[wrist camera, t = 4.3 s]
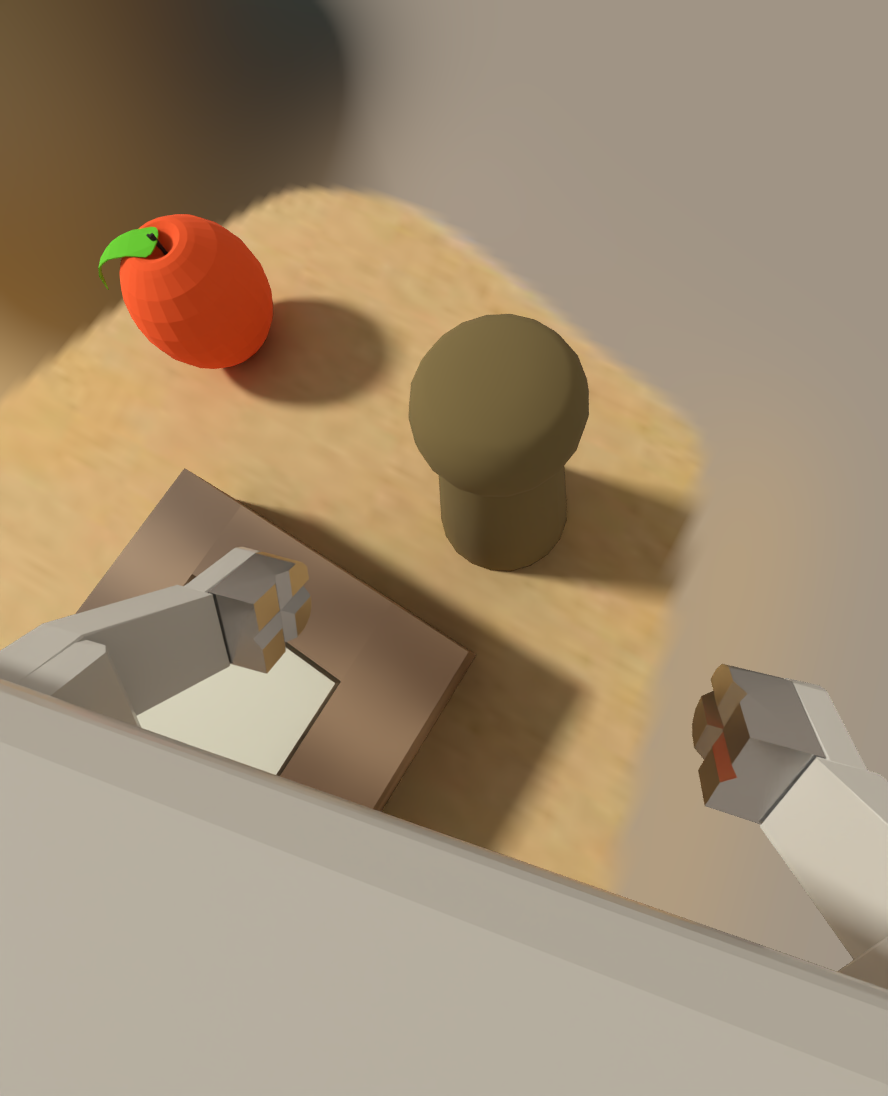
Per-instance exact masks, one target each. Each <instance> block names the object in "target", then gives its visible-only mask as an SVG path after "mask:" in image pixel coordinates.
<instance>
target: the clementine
mask: <svg viewBox="0 0 888 1096" xmlns="http://www.w3.org/2000/svg"><path fill="white" fill-rule="evenodd" d="M116 258H122V260H121V264H120V282H121V290H122V294H123V299H124V302H125V304H126V306H127V308H128V311H129V313H130V315H131V317H132V319H133V320H134V322H135V323H136V325H137V326H138V328H139V329H140V330H141V332H142V333H143V334H144V335H145V336H146V337H147V339H148V340H149V341H150V342H151V343H153V344H154V345H155V346H156V347H158V348H159V349H160V350H162V351H163V352H165V353H166V354H168V355H169V356H171V357H172V358H174V359H175V360H178V361H181V362H184V363H187V364H190V365H193V366H196V367H199V368H209V369H217V368H225V367H230V366H235V365H237V364H239V363H242V362H244V361H246V360H247V359H248V358H250V357H251V356H253V355H254V354H255V353H256V352H257V351H258V350H259V348H260V347H261V346H262V345H263V343H264V341H265V339H266V338H267V336H268V332H269V329H270V325H271V322H272V318H273V301H272V293H271V288H270V285H269V283H268V280H267V277H266V275H265V273H264V270H263V268H262V266H261V264H260V262H259V261H258V260H257V259H256V257H255V256H254V255H253V254H252V252H251V251H250V250H249V249H248V248H247V246H246V245H245V244H244V243H243V242H242V240H241V239H240V238H238V237H237V236H235V235H234V234H232V233H231V232H230V231H228V230H227V229H225V228H224V227H222V226H220V225H219V224H217V223H216V222H213V221H210V220H207V219H203V218H200V217H196V216H193V215H189V214H176V215H169V216H163V217H159V218H156V219H153V220H151V221H149V222H147V223H146V224H144V225H143V226H141V227H140V228H139V229H136V230H131V231H129V232H127V233H124V234H122V235H120V236H119V237H117V238H116V239H114V240H113V241H112V242H111V243H110V244H109V246H108V247H107V248H106V249H105V251H104V253H103V255H102V257H101V259H100V263H99V268H98V269H99V277H100V279H101V280H102V282H103V283H104V285H105V286H106V287H107V284H106V282H105V279H104V277H103V275H102V272H101V271H102V265H103V264H104V263H105V262H107V261H108V260H111V259H116ZM107 289H108V287H107Z"/></svg>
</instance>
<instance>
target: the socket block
mask: <svg viewBox="0 0 888 1096" xmlns="http://www.w3.org/2000/svg"><path fill="white" fill-rule="evenodd" d="M237 547H246V548H249V549H253V550H257V551H260V552H266V553H270V554H273V555H277V556H281V557H285V558H288V559H292V560H296V561H300V562H302V563H304V564H305V565H306V566H307V569H308V576H309V580H308V581H307V582H306V583H305V584H304V587H305V589H306V590H307V591H308V593H309V594H310V595H311V604H312V606H311V613H310V617H309V619H308V622H307V624H306V627H305V628H304V630H303V631H302V632H301V634H300V635H299V636H298V637H297V638H294V639H292V640H290V641H287V643H289V644H290V645H291V646H293V647H294V648H296V649H297V650H298V651H300V652H301V653H303V654H304V655H305V656H307V657H308V658H309V659H311V660H312V661H314V662H315V663H316V664H318V665H319V666H321V667H322V668H323V669H325V670H326V671H327V672H329V673H330V674H332V675H333V676H334V677H336V678H337V679H339V680H340V681H341V682H340V684H339V685H338V687H337V688H336V690H335V691H334V693H333V694H332V696H331V698H330V699H329V701H328V702H327V704H326V705H325V707H324V708H323V710H322V712H321V713H320V715H319V716H318V718H317V719H316V721H315V722H314V724H313V725H312V727H311V729H310V730H309V732H308V733H307V735H306V736H305V738H304V739H303V741H302V742H301V744H300V746H299V747H298V749H297V750H296V752H295V753H294V755H293V756H292V758H291V760H290V761H289V763H288V764H287V766H286V767H285V769H284V770H283V772H282V773H281V775H280V777H283V778H286V779H289V780H292V781H294V782H297V783H300V784H303V785H306V786H309V787H312V788H314V789H317V790H320V791H323V792H326V793H329V794H332V795H334V796H337V797H340V798H343V799H346V800H349V801H351V802H354V803H357V804H360V805H363V806H366V807H369V808H371V809H374V810H377V811H380V812H381V811H382V809H383V808H384V806H385V805H386V803H387V801H388V800H389V798H390V796H391V795H392V793H393V791H394V790H395V788H396V786H397V785H398V783H399V781H400V780H401V778H402V776H403V775H404V773H405V772H406V770H407V768H408V767H409V765H410V763H411V762H412V760H413V758H414V757H415V755H416V753H417V752H418V750H419V748H420V747H421V745H422V743H423V742H424V740H425V739H426V737H427V735H428V734H429V732H430V730H431V729H432V727H433V725H434V724H435V722H436V720H437V719H438V717H439V715H440V714H441V712H442V710H443V709H444V707H445V706H446V704H447V702H448V701H449V699H450V697H451V696H452V694H453V692H454V691H455V689H456V687H457V686H458V684H459V682H460V681H461V679H462V677H463V676H464V674H465V673H466V671H467V669H468V668H469V666H470V664H471V663H472V661H473V659H474V658H475V656H476V654H474V653H473V652H471V651H470V650H468V649H467V648H465V647H463V646H462V645H460V644H459V643H457V642H456V641H454V640H453V639H451V638H450V637H448V636H446V635H445V634H443V633H442V632H440V631H439V630H437V629H436V628H434V627H433V626H431V625H429V624H428V623H426V622H425V621H423V620H422V619H420V618H419V617H417V616H415V615H414V614H412V613H411V612H409V611H408V610H406V609H405V608H403V607H402V606H400V605H398V604H397V603H395V602H394V601H392V600H391V599H389V598H388V597H386V596H384V595H383V594H381V593H380V592H378V591H377V590H375V589H374V588H372V587H371V586H369V585H367V584H366V583H364V582H363V581H361V580H360V579H358V578H357V577H355V576H354V575H352V574H350V573H349V572H347V571H346V570H344V569H343V568H341V567H340V566H338V565H336V564H335V563H333V562H332V561H330V560H329V559H327V558H326V557H324V556H323V555H321V554H319V553H318V552H316V551H315V550H313V549H312V548H310V547H309V546H307V545H306V544H304V543H302V542H301V541H299V540H298V539H296V538H295V537H293V536H292V535H290V534H288V533H287V532H285V531H284V530H282V529H281V528H279V527H278V526H276V525H275V524H273V523H271V522H270V521H268V520H267V519H265V518H264V517H262V516H261V515H259V514H257V513H256V512H254V511H253V510H251V509H250V508H248V507H247V506H245V505H244V504H242V503H240V502H239V501H237V500H236V499H234V498H233V497H231V496H229V495H228V494H226V493H224V492H223V491H221V490H219V489H218V488H216V487H215V486H213V485H211V484H210V483H208V482H206V481H205V480H203V479H201V478H200V477H198V476H196V475H195V474H193V473H192V472H190V471H188V470H187V469H185V468H184V470H183V471H182V472H181V474H180V475H179V476H178V478H177V479H176V480H175V482H174V483H173V484H172V486H171V487H170V488H169V490H168V491H167V492H166V494H165V495H164V496H163V498H162V499H161V500H160V502H159V503H158V504H157V506H156V507H155V508H154V510H153V511H152V512H151V514H150V515H149V516H148V518H147V519H146V520H145V522H144V523H143V524H142V526H141V527H140V528H139V530H138V531H137V532H136V534H135V535H134V536H133V538H132V539H131V540H130V542H129V543H128V544H127V546H126V547H125V548H124V550H123V551H122V552H121V554H120V555H119V556H118V558H117V559H116V560H115V562H114V563H113V564H112V566H111V567H110V568H109V570H108V571H107V572H106V574H105V575H104V576H103V578H102V579H101V580H100V582H99V583H98V584H97V586H96V587H95V588H94V590H93V591H92V592H91V594H90V595H89V596H88V598H87V599H86V600H85V602H84V603H83V604H82V606H81V607H80V608H79V610H78V611H77V612H76V614H78V613H81V612H85V611H88V610H92V609H95V608H99V607H102V606H106V605H109V604H113V603H116V602H119V601H123V600H126V599H130V598H133V597H137V596H140V595H144V594H147V593H151V592H154V591H158V590H161V589H165V588H168V587H171V586H175V585H180V586H185V585H186V584H188V583H189V582H190V581H192V580H193V579H194V578H196V577H197V576H198V575H199V574H201V573H202V572H203V571H205V570H206V569H207V568H209V567H210V566H211V565H213V564H214V563H215V562H217V561H218V560H219V559H221V558H222V557H223V556H225V555H226V554H227V553H229V552H230V551H231V550H233V549H234V548H237Z"/></svg>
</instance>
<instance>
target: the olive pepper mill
mask: <svg viewBox="0 0 888 1096" xmlns="http://www.w3.org/2000/svg"><path fill="white" fill-rule="evenodd" d="M588 416H589V389H588V383H587V378H586V376H585V373H584V371H583V368H582V365H581V363H580V360H579V358H578V355H577V354H576V353H575V352H574V351H573V350H572V349H571V347H570V346H569V345H568V344H567V343H566V342H565V341H564V339H563V338H562V337H561V336H560V335H559V334H557V333H556V332H555V331H554V330H552V329H550V328H548V327H547V326H545V325H543V324H541V323H540V322H538V321H536V320H534V319H530V318H526V317H521V316H517V315H513V314H501V315H485V316H482V317H479V318H476V319H472V320H469V321H466V322H463V323H461V324H460V325H458V326H457V327H455V328H453V329H452V330H450V331H449V332H447V333H446V334H444V335H443V336H442V337H441V338H440V339H439V340H438V341H437V342H436V343H435V344H434V346H433V347H432V348H431V349H430V350H429V351H428V352H427V354H426V355H425V356H424V358H423V359H422V360H421V362H420V365H419V367H418V369H417V371H416V373H415V376H414V378H413V380H412V382H411V391H410V402H409V421H410V425H411V429H412V433H413V436H414V440H415V443H416V445H417V447H418V449H419V451H420V453H421V454H422V455H423V457H424V458H425V460H426V461H427V463H428V464H429V466H430V467H431V469H432V470H433V471H434V472H436V473H437V474H438V475H439V487H440V505H441V519H442V523H443V527H444V530H445V534H446V537H447V538H448V540H449V541H450V543H451V544H452V546H453V547H454V549H455V550H456V552H458V553H459V554H460V555H462V556H463V557H464V558H465V559H467V560H468V561H469V562H471V563H472V564H475V565H478V566H480V567H483V568H486V569H489V570H501V571H512V570H516V569H519V568H523V567H527V566H530V565H532V564H533V563H535V562H536V561H538V560H540V559H541V558H543V557H544V556H546V555H547V554H548V553H549V552H550V550H551V549H552V548H553V547H554V545H555V544H556V543H557V542H558V540H559V539H560V537H561V534H562V531H563V528H564V526H565V523H566V487H565V472H564V465H565V464H566V462H567V461H568V460H569V459H570V457H571V456H572V455H573V454H574V452H575V451H576V450H577V447H578V444H579V442H580V439H581V436H582V433H583V431H584V428H585V425H586V422H587V419H588Z"/></svg>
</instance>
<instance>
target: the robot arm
mask: <svg viewBox="0 0 888 1096" xmlns="http://www.w3.org/2000/svg"><path fill="white" fill-rule="evenodd" d="M308 580H309V576H308V569H307V566H306V565H305V564H304V563H302V562H300V561H296V560H292V559H288V558H285V557H281V556H277V555H273V554H270V553H266V552H260V551H257V550H253V549H249V548H246V547H237V548H234V549H233V550H231V551H230V552H229V553H227V554H226V555H225V556H223V557H222V558H221V559H219V560H218V561H217V562H215V563H214V564H213V565H211V566H210V567H209V568H207V569H206V570H205V571H203V572H202V573H201V574H199V575H198V576H197V577H196V578H194V579H193V580H192V581H190V582H189V583H188V584H186V585H185V586H180V585H175V586H171V587H168V588H165V589H161V590H158V591H154V592H151V593H147V594H144V595H140V596H137V597H133V598H130V599H126V600H123V601H119V602H116V603H113V604H109V605H106V606H102V607H99V608H95V609H92V610H88V611H85V612H81V613H78V614H74V615H71V616H67V617H64V618H61V619H57V620H54V621H50V622H47V623H43V624H41V625H40V626H38V627H37V628H35V629H34V630H32V631H30V632H29V633H27V634H26V635H24V636H23V637H21V638H19V639H18V640H16V641H15V642H13V643H12V644H10V645H8V646H7V647H5V648H4V649H2V650H1V651H0V1096H888V781H887V780H886V779H885V778H884V777H883V776H881V775H880V774H878V773H874V772H871V771H868V770H867V768H866V766H865V764H864V762H863V760H862V758H861V756H860V754H859V752H858V750H857V748H856V746H855V745H854V743H853V741H852V739H851V737H850V735H849V733H848V731H847V729H846V727H845V725H844V723H843V721H842V719H841V718H840V716H839V714H838V712H837V710H836V708H835V706H834V704H833V702H832V700H831V698H830V697H829V694H828V692H827V691H826V690H825V689H824V688H822V687H821V686H820V685H815V684H811V683H806V682H801V681H797V680H792V679H788V678H786V679H784V678H780V677H775V676H772V675H767V674H763V673H759V672H755V671H750V670H746V669H742V668H738V667H734V666H729V665H725V664H721V665H720V666H719V667H718V668H717V669H716V671H715V672H714V674H713V676H712V678H711V683H712V687H713V691H712V692H710V693H707V694H705V695H703V696H701V699H700V700H699V702H698V704H697V707H696V709H695V713H694V718H693V723H692V737H693V743H694V748H695V749H696V750H697V752H698V753H699V754H700V755H701V756H702V757H703V759H704V761H703V763H702V765H701V766H700V768H699V770H698V772H699V777H700V782H701V788H702V793H703V798H704V804H705V806H707V807H710V808H713V809H716V810H719V811H722V812H725V813H728V814H731V815H734V816H737V817H740V818H743V819H746V820H749V821H752V822H755V823H758V824H761V826H760V828H761V829H762V830H763V832H764V833H765V835H766V836H767V837H768V839H769V840H770V842H771V843H772V845H773V846H774V847H775V849H776V850H777V852H778V853H779V854H780V856H781V857H782V859H783V860H784V862H785V863H786V864H787V866H788V867H789V869H790V870H791V872H792V873H793V874H794V876H795V877H796V879H797V880H798V881H799V883H800V884H801V886H802V887H803V888H804V890H805V891H806V893H807V894H808V896H809V897H810V898H811V900H812V901H813V903H814V904H815V906H816V907H817V908H818V910H819V911H820V913H821V914H822V915H823V917H824V918H825V919H826V921H827V923H828V924H829V925H830V927H831V928H832V930H833V931H834V932H835V934H836V935H837V937H838V938H839V940H840V941H841V942H842V944H843V945H844V947H845V948H846V949H847V951H848V952H849V954H850V955H851V956H852V958H853V959H854V960H853V961H852V962H850V963H849V964H847V965H846V966H845V967H843V968H842V969H840V970H839V971H834V970H831V969H828V968H825V967H822V966H819V965H817V964H814V963H811V962H808V961H805V960H802V959H800V958H797V957H794V956H791V955H788V954H785V953H782V952H780V951H777V950H774V949H771V948H768V947H765V946H762V945H760V944H756V943H754V942H751V941H748V940H745V939H742V938H739V937H737V936H734V935H731V934H728V933H725V932H722V931H720V930H717V929H714V928H711V927H708V926H706V925H703V924H700V923H697V922H694V921H691V920H688V919H686V918H683V917H680V916H677V915H674V914H671V913H668V912H665V911H663V910H660V909H657V908H654V907H651V906H648V905H646V904H642V903H640V902H637V901H634V900H631V899H628V898H626V897H623V896H620V895H617V894H614V893H611V892H608V891H606V890H603V889H600V888H597V887H594V886H591V885H588V884H586V883H583V882H580V881H577V880H574V879H571V878H568V877H566V876H563V875H560V874H557V873H554V872H551V871H548V870H546V869H543V868H540V867H537V866H534V865H531V864H528V863H526V862H523V861H520V860H517V859H514V858H511V857H508V856H506V855H503V854H500V853H497V852H494V851H491V850H488V849H486V848H483V847H480V846H477V845H474V844H471V843H468V842H466V841H463V840H460V839H457V838H454V837H451V836H448V835H446V834H443V833H440V832H437V831H434V830H431V829H428V828H426V827H423V826H420V825H417V824H414V823H411V822H409V821H406V820H403V819H400V818H397V817H394V816H391V815H389V814H386V813H383V812H380V811H377V810H374V809H371V808H369V807H366V806H363V805H360V804H357V803H354V802H351V801H349V800H346V799H343V798H340V797H337V796H334V795H332V794H329V793H326V792H323V791H320V790H317V789H314V788H312V787H309V786H306V785H303V784H300V783H297V782H294V781H292V780H289V779H286V778H283V777H280V776H277V775H274V774H272V773H269V772H266V771H263V770H260V769H257V768H255V767H252V766H249V765H246V764H243V763H240V762H237V761H235V760H232V759H229V758H226V757H223V756H220V755H218V754H215V753H212V752H209V751H206V750H203V749H200V748H198V747H195V746H192V745H189V744H186V743H183V742H180V741H178V740H175V739H172V738H169V737H166V736H163V735H161V734H158V733H155V732H152V731H149V730H146V729H143V728H142V727H141V725H140V723H139V721H138V718H137V715H139V714H141V713H143V712H145V711H147V710H149V709H150V708H152V707H154V706H156V705H158V704H160V703H162V702H164V701H165V700H167V699H169V698H171V697H173V696H175V695H177V694H179V693H180V692H182V691H184V690H186V689H188V688H190V687H192V686H194V685H196V684H197V683H199V682H201V681H203V680H205V679H207V678H209V677H211V676H212V675H214V674H216V673H218V672H220V671H222V670H224V669H226V668H227V667H229V666H230V664H232V665H236V666H240V667H244V668H247V669H251V670H255V671H258V672H262V673H266V674H267V673H268V672H269V671H270V670H271V669H272V667H273V666H274V665H275V664H276V663H277V661H278V660H279V659H280V658H281V657H282V655H283V654H284V653H285V652H286V647H285V642H287V641H290V640H292V639H294V638H297V637H298V636H299V635H300V634H301V632H302V631H303V630H304V628H305V627H306V624H307V622H308V619H309V617H310V613H311V606H312V604H311V595H310V594H309V593H308V591H307V590H306V589H305V587H304V584H305V583H306V582H307V581H308Z"/></svg>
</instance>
